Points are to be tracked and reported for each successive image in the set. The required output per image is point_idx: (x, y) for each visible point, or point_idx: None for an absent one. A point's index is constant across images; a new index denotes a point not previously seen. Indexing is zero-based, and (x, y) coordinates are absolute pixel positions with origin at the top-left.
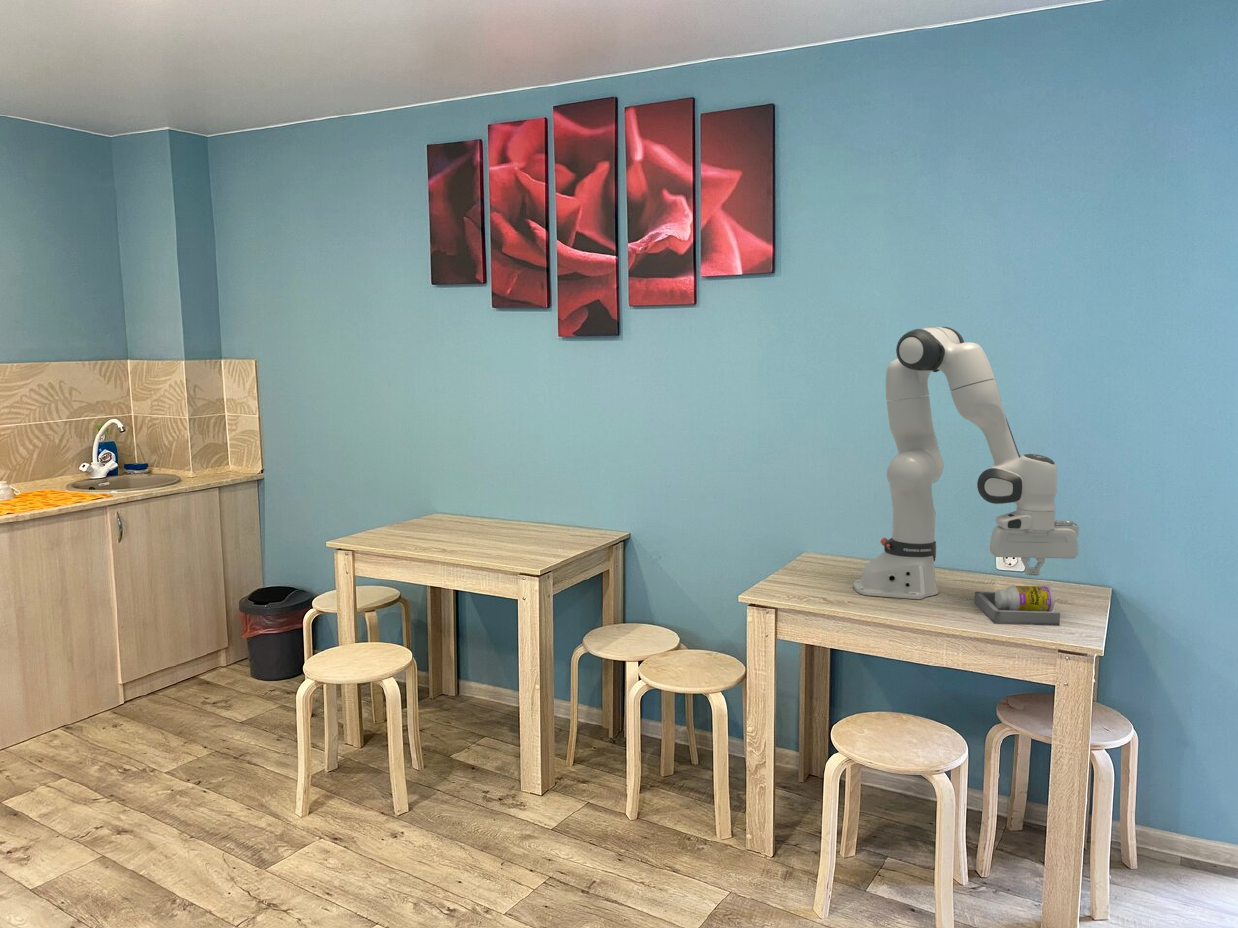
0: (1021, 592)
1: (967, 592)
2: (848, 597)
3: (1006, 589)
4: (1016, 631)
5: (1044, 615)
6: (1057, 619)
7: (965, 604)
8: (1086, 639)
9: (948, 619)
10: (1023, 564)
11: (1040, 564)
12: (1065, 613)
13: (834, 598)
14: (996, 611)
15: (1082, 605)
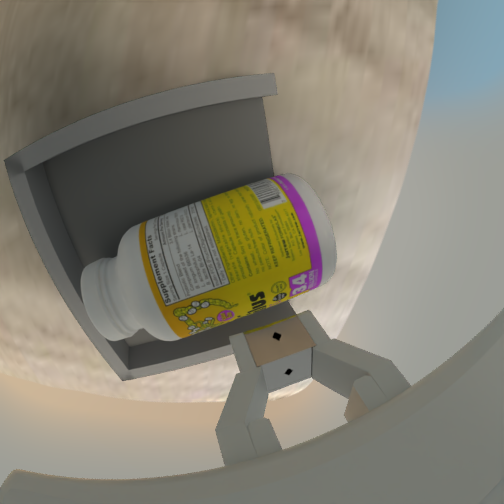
0: (194, 333)
1: (22, 13)
2: None
3: (122, 287)
4: (179, 382)
5: None
6: None
7: (6, 189)
8: None
9: (29, 353)
10: (229, 393)
11: (344, 395)
12: (337, 176)
13: None
14: (125, 380)
15: (398, 75)
